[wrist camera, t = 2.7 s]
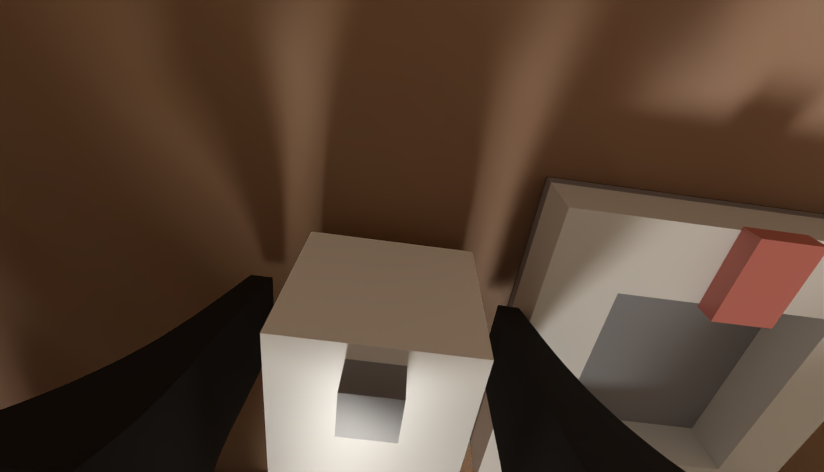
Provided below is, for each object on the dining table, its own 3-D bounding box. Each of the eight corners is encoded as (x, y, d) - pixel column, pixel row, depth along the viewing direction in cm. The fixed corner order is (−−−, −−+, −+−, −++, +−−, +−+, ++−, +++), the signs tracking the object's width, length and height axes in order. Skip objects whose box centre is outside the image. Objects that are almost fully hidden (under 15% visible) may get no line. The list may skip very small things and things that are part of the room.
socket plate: (469, 433, 17) (476, 500, 15) (548, 173, 12) (578, 214, 9) (709, 459, 17) (752, 529, 15) (893, 220, 12) (1003, 270, 10)
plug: (317, 340, 15) (257, 525, 9) (320, 212, 12) (243, 365, 7) (441, 354, 15) (450, 544, 10) (468, 231, 12) (500, 394, 7)
